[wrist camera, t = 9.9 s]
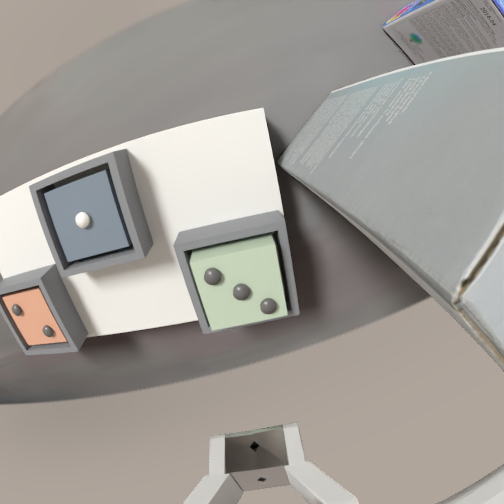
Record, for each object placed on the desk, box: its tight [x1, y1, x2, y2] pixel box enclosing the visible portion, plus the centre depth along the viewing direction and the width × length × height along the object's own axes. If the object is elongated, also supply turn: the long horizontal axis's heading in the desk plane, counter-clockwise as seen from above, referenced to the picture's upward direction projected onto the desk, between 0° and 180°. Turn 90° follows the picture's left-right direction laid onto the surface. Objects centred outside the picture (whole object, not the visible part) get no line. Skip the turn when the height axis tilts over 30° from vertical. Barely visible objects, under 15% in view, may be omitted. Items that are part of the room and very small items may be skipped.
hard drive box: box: [277, 47, 504, 371], centre depth 14 cm, size 16×8×20 cm, turn 54°
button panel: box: [0, 108, 300, 355], centre depth 21 cm, size 25×14×6 cm, turn 101°
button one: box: [44, 168, 132, 262], centre depth 18 cm, size 5×5×2 cm
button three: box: [190, 233, 288, 331], centre depth 19 cm, size 5×5×2 cm
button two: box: [2, 285, 67, 345], centre depth 21 cm, size 5×5×2 cm
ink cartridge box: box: [383, 0, 504, 65], centre depth 12 cm, size 10×6×14 cm, turn 49°
